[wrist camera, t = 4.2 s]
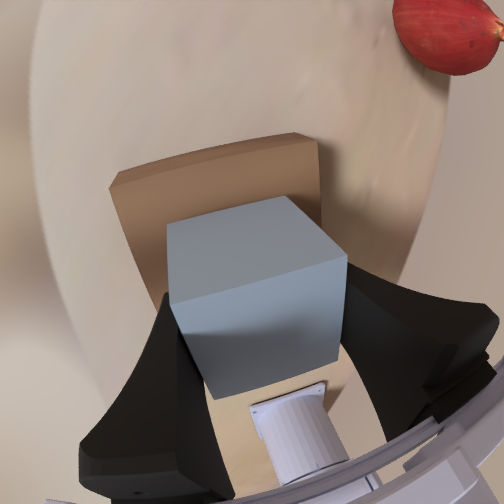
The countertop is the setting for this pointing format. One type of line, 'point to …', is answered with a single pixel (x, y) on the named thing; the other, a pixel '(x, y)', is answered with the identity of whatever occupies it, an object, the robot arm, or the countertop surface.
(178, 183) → the base
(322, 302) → the cube
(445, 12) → the onion
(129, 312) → the countertop surface
